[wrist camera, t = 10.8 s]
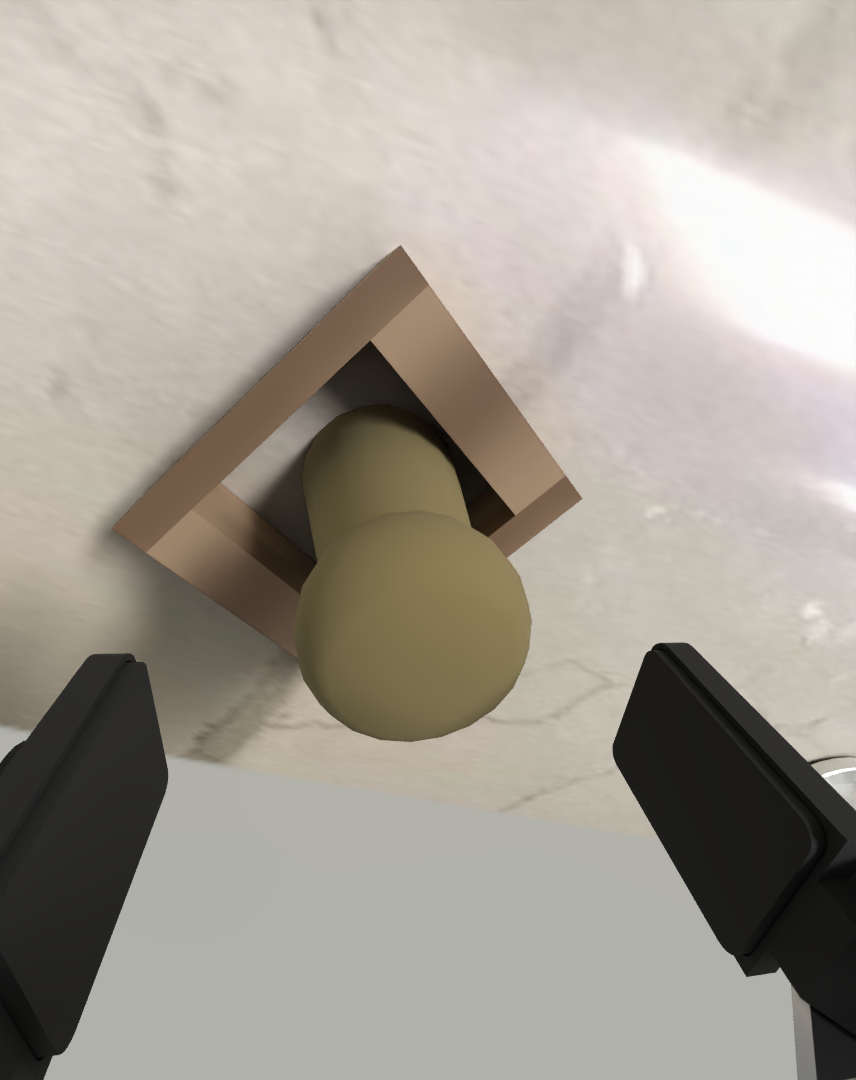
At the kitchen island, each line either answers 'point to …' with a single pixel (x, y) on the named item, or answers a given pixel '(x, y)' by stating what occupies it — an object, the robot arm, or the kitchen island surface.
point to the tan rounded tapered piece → (402, 585)
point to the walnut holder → (364, 314)
